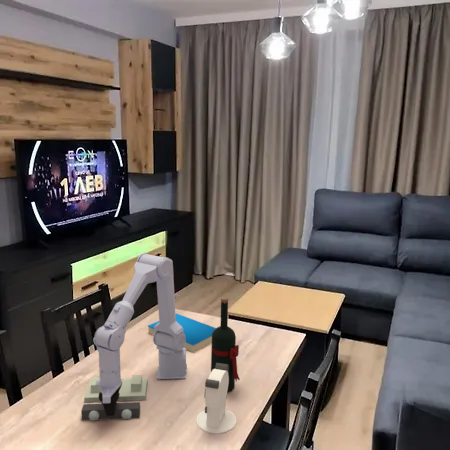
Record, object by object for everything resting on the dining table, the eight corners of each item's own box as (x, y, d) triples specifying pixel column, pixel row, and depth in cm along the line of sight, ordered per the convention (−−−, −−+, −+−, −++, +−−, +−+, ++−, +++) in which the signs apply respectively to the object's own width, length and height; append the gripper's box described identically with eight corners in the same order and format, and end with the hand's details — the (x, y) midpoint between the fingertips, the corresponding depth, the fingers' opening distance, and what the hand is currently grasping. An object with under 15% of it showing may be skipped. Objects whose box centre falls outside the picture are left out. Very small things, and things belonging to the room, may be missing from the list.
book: (193, 344, 165) (147, 324, 179) (193, 355, 165) (147, 334, 180) (222, 329, 178) (177, 312, 193) (222, 339, 179) (176, 321, 194)
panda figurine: (204, 404, 134) (205, 358, 131) (241, 411, 132) (242, 364, 128) (190, 429, 123) (191, 379, 120) (230, 437, 120) (231, 387, 117)
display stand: (147, 382, 146) (147, 370, 145) (145, 400, 136) (144, 388, 135) (90, 383, 144) (90, 372, 143) (84, 402, 134) (83, 390, 133)
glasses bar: (140, 411, 130) (140, 402, 130) (139, 419, 127) (138, 409, 126) (84, 413, 129) (83, 404, 128) (81, 421, 125) (80, 411, 125)
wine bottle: (229, 399, 137) (232, 307, 131) (205, 387, 144) (206, 298, 137) (245, 388, 143) (248, 300, 137) (221, 377, 149) (223, 292, 143)
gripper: (99, 355, 132) (101, 396, 135) (90, 382, 118) (92, 428, 120) (124, 354, 133) (125, 396, 135) (117, 381, 118) (118, 426, 121)
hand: (111, 411), depth 128 cm, fingers closed on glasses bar, 3 cm apart
